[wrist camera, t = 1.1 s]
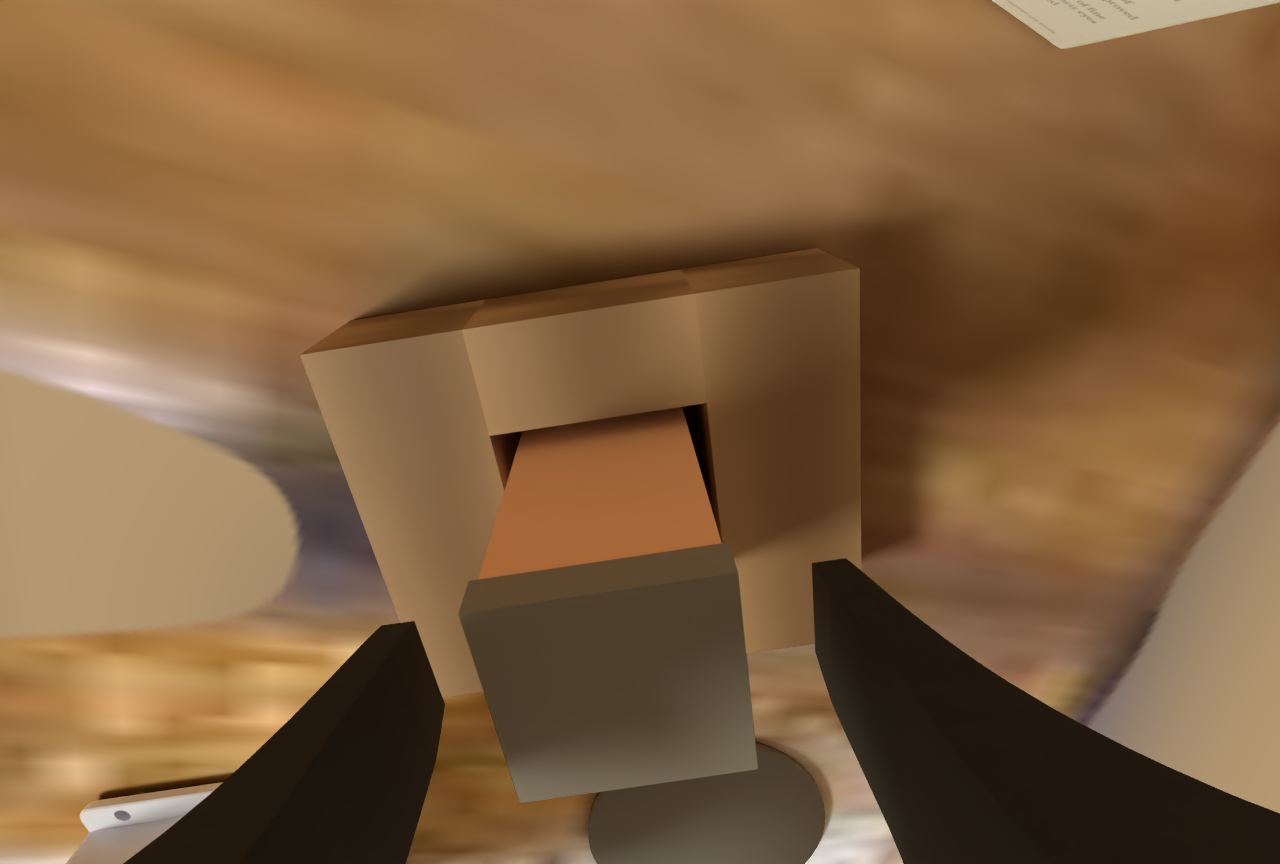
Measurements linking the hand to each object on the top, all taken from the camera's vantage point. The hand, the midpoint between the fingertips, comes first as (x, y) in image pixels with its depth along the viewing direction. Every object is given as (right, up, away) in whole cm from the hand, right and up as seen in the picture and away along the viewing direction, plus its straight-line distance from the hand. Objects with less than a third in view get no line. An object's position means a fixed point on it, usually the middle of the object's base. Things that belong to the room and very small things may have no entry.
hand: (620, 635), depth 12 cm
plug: (0, +3, +7) cm, 7 cm away
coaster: (+3, -11, +13) cm, 18 cm away
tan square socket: (0, +3, +7) cm, 7 cm away
